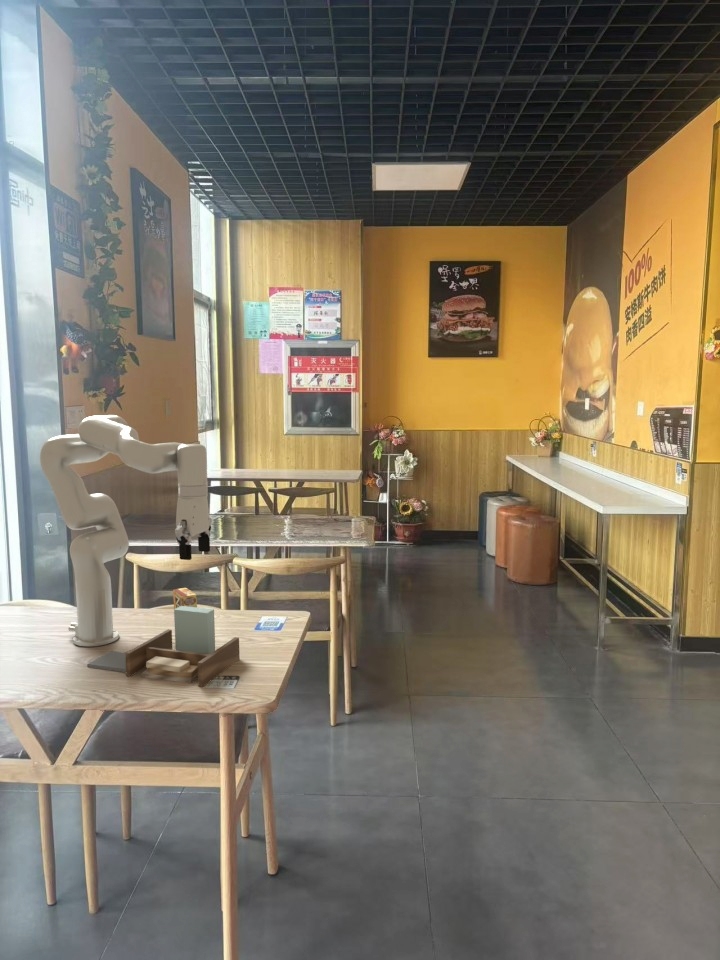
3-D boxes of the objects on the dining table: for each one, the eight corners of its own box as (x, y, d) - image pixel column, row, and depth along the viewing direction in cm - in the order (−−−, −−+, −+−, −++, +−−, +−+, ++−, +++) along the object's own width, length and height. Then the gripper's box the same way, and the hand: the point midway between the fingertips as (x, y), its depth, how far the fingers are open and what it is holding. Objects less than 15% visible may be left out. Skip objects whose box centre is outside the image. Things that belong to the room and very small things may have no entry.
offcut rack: (126, 675, 182) (125, 653, 181) (168, 650, 200) (167, 629, 199) (202, 686, 175) (201, 663, 174) (239, 659, 193) (239, 637, 192)
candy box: (199, 647, 203) (197, 594, 201) (185, 650, 200) (183, 596, 198) (188, 638, 210) (186, 587, 208) (174, 640, 208) (172, 589, 206)
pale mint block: (175, 660, 193) (174, 609, 191) (183, 655, 196) (181, 605, 194) (208, 664, 190) (207, 613, 188) (215, 659, 193) (214, 609, 191)
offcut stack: (141, 678, 182) (140, 662, 181) (153, 670, 186) (152, 655, 186) (191, 684, 178) (190, 668, 177) (201, 676, 183) (201, 660, 182)
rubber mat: (87, 666, 188) (87, 663, 188) (111, 653, 198) (111, 650, 198) (129, 672, 184) (129, 669, 184) (152, 658, 194) (152, 656, 194)
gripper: (196, 486, 198) (198, 547, 200) (162, 495, 181) (165, 561, 183) (221, 487, 196) (223, 549, 198) (188, 496, 179) (191, 563, 181)
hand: (195, 555), depth 191 cm, fingers open, 9 cm apart
